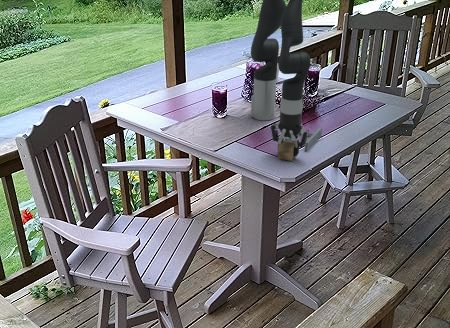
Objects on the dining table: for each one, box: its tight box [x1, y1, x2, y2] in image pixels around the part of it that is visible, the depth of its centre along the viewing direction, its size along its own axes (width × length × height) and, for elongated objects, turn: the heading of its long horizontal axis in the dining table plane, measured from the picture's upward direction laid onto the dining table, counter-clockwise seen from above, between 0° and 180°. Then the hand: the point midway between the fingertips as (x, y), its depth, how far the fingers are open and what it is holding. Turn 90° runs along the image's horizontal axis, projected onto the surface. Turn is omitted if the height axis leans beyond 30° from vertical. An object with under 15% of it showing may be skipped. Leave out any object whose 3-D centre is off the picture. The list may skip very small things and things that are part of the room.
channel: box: [284, 123, 323, 153], centre depth 197 cm, size 9×16×4 cm, turn 152°
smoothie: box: [276, 64, 280, 84], centre depth 259 cm, size 6×6×14 cm
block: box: [277, 139, 295, 162], centre depth 184 cm, size 5×5×5 cm
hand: (288, 153), depth 185 cm, fingers closed on block, 5 cm apart
